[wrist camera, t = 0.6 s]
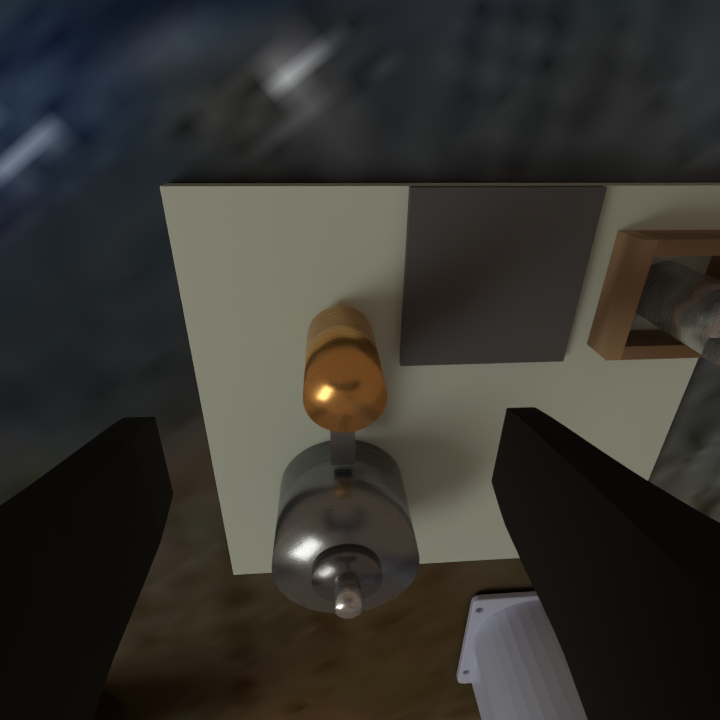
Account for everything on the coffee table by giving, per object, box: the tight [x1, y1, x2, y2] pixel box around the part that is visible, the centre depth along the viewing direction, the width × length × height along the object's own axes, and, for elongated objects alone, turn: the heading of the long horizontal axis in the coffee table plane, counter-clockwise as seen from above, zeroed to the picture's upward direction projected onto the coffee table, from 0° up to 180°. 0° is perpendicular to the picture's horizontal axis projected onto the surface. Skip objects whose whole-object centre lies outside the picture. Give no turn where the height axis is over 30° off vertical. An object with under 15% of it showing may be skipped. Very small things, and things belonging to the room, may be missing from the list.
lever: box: [303, 306, 387, 465], centre depth 17 cm, size 6×3×4 cm, turn 0°
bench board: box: [160, 183, 720, 575], centre depth 21 cm, size 20×22×1 cm
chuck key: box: [636, 261, 720, 366], centre depth 16 cm, size 2×4×6 cm, turn 90°
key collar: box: [587, 230, 720, 361], centre depth 18 cm, size 5×5×2 cm
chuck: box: [272, 440, 419, 618], centre depth 20 cm, size 6×6×6 cm
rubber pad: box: [399, 186, 607, 366], centre depth 18 cm, size 7×7×1 cm
